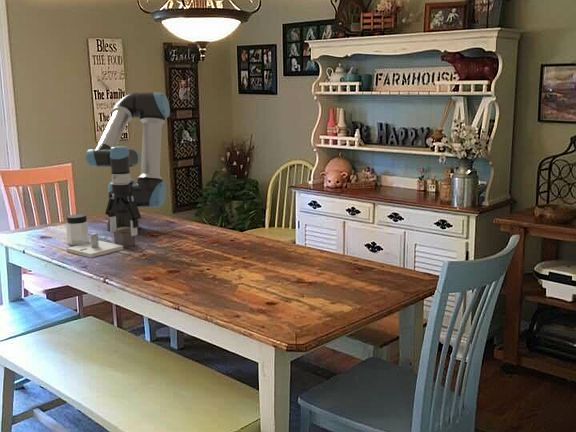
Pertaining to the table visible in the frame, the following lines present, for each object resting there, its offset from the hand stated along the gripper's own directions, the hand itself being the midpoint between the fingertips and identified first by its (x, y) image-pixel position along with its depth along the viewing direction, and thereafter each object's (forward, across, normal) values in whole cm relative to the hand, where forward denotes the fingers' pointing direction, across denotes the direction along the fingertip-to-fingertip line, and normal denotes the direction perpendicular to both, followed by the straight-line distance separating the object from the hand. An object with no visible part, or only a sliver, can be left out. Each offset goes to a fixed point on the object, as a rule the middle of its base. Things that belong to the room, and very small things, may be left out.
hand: (123, 233), depth 276 cm
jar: (+5, -20, -8) cm, 23 cm away
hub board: (+5, -3, -12) cm, 14 cm away
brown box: (+5, 0, 0) cm, 5 cm away
